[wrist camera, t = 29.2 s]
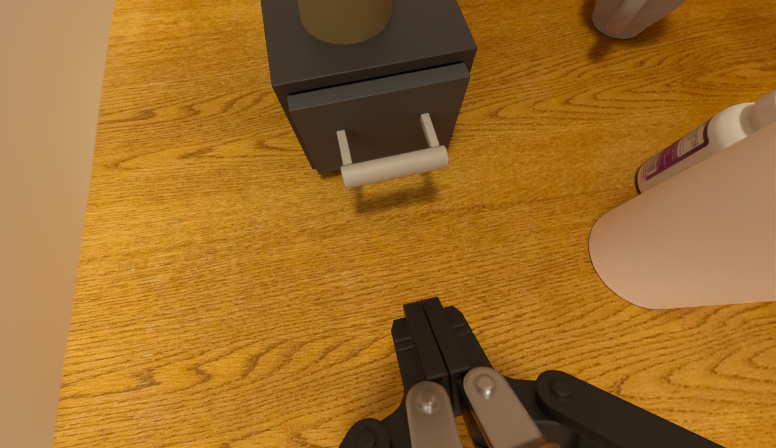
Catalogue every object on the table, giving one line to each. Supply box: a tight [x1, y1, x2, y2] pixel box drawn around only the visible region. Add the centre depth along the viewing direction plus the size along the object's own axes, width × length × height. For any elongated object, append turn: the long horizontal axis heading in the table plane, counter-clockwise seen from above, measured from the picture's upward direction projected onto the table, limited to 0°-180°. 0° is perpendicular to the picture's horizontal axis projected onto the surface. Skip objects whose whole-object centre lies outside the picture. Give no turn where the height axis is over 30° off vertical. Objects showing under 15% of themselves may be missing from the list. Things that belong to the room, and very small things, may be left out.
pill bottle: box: [637, 89, 776, 194], centre depth 21 cm, size 5×5×10 cm
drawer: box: [287, 63, 470, 189], centre depth 23 cm, size 18×11×8 cm, turn 13°
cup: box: [589, 121, 776, 309], centre depth 16 cm, size 8×8×16 cm
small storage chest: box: [261, 0, 477, 169], centre depth 25 cm, size 15×13×10 cm
